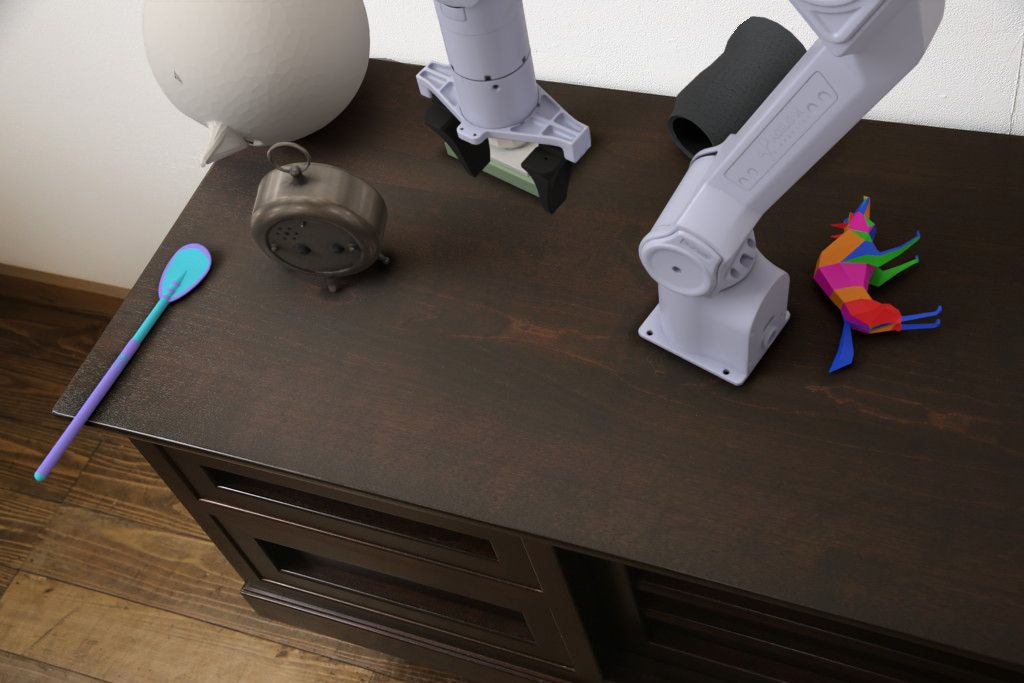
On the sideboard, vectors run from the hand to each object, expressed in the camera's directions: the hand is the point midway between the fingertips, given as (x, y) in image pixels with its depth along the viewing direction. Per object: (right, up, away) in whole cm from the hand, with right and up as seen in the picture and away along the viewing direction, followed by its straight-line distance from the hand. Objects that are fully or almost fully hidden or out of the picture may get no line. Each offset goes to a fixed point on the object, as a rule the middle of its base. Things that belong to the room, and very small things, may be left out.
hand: (517, 186), depth 85 cm
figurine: (+32, -6, -2) cm, 33 cm away
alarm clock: (-16, -6, +10) cm, 20 cm away
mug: (+24, +12, +10) cm, 29 cm away
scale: (0, +6, +15) cm, 16 cm away
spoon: (-33, -13, +6) cm, 36 cm away
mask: (-17, +19, +22) cm, 34 cm away
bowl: (-1, +7, +14) cm, 16 cm away
